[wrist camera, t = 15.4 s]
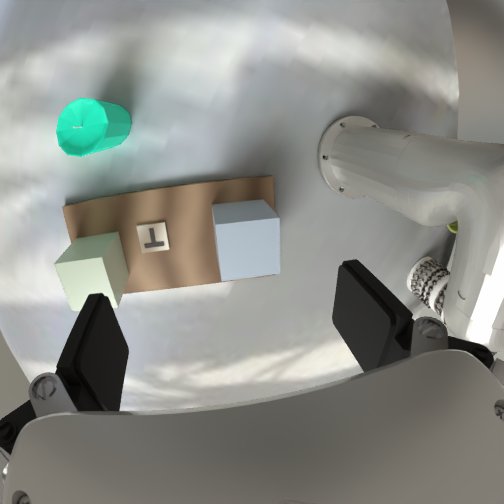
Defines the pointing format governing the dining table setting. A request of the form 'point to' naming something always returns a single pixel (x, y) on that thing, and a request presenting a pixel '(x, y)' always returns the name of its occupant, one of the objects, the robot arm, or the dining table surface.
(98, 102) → the candle
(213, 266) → the board
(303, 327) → the dining table surface
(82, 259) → the pale green block
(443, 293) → the decorative candle
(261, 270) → the blue cover
